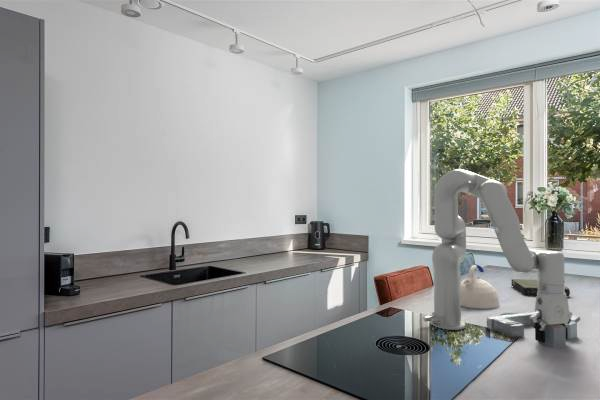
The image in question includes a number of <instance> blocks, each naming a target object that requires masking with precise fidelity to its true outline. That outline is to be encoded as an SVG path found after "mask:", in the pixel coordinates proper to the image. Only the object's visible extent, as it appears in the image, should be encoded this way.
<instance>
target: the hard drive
mask: <svg viewBox="0 0 600 400" xmlns="http://www.w3.org/2000/svg"><path fill="white" fill-rule="evenodd" d="M580 319H581V317H580V316H579V315H574V314H572V317H571V321H572V322H577V320H578V321H579V320H580Z"/></svg>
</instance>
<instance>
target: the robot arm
mask: <svg viewBox="0 0 600 400" xmlns="http://www.w3.org/2000/svg"><path fill="white" fill-rule="evenodd" d="M459 193H464V194H467V195H470V196H473V197H474V198H477V199H479V200H480V202H481V203H482V206H483V208H484V210H485V212H486V214H487V216H488V218H489V221H490V222H491V224H492V227H493V230H494V233H495V235H496V238H497V240H498V243H499V246H500V247H501V250H502V252H503V253H502V254H504V257H505V259H506V261H507V262H508V265H509V266H510V267H511V268H512V270H514V271H515V272H517V273H519V274H528V273H530V272H532V271H534V270H535V271H536V270H537V280H538V287H537V289H538V292H537V296H535V306H534V307H535V308H534V312H535V313H534V314H532V315H531V316H530V317H529V318H530V321H531V324H532V325H531V326H533V329H534V332H535V333H534V335H535V336H534V339H535V341H536V342H538V341H539V342H538V343H540V342H542V343H545V331H544V328H545V326H546V325H557V324H560V325H563V326H565V327H566V341H567V340H569V339H568V327H569V323H570V321H571V317H572V315H573V312H571V311H570V307H569V300H568V297H567V295H566V293H565V255H564V254H563V252H560V251H555V250H537V249H532V248H529V247H528V245H527V243H526V242H525V238H524V237H523V234H522V231H521V222H520V219H519V217H518V214H517V212H516V210H515V209H514V206H513V204H512V202H511V200H510V199H509V197H508V189H507V187H506V185H505V184H504V183H502V182H500V181H497V180H495V179H491V178H489V177H486V176H483V175H480V174H477V173H475V172H472V171H470V170H465V169H462V168H456V169H452V170H449V171H448V172H446V173H444V174H443V175H442V176H441V177H440V178H439V179H438V180H437V182H436V185H435V187H434V232H435V234H436V235H437V237H439V238H440V239H441V243H440V244H438V245H437V246H436V247H435V248H434V249H433V252H432V256H431V260H432V267H433V268H432V269H433V292H434V293H433V298H434V300H433V303H434V304H433V306H434V307H433V309H434V310H433V312H431V314H430V315H426V316H423V317H422V319H423V321H424V322H430V323H431V324H430V323H429V324H430V325H431V326H432V325H433V326H432V327H434V326H435V327H434V328H437V327H438V328H437V329H440V328H442V329H441V330H445V329H446V330H447V331H458V330H463V329H465V328H466V323H465V322H464V321H462V319H461V317H462V312H461V311H462V306H461V285H460V282H461V272H460V271H461V270H460V264H461V263H462V262H463V261H464V260H465V259H466V256H467V230H466V229H467V228H466V227H467V226H466V223H465V220H464V219H463V218H462V217H461V216H459V201H458V195H459ZM540 323H542V324H541V326H540V325H539V324H540ZM542 343H541V344H542Z"/></svg>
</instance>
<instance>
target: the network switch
mask: <svg viewBox="0 0 600 400" xmlns="http://www.w3.org/2000/svg"><path fill="white" fill-rule="evenodd" d="M512 286H513V287H514V288H513V287H512ZM511 287H512V288H513V289H515V288H516V289H515V290H517V291H518V292H519V293H520V292H521V294H522V293H523V294H524V295H523V294H522V295H523V296H530V295H537V292H538V289H537V287H538V279H523V278H522V279H519V278H518V279H517V278H512V279H511ZM565 293H566V295H567V296H568V297H570V294H571V293H570V288H569V287H568V286H565Z"/></svg>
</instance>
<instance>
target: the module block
mask: <svg viewBox="0 0 600 400" xmlns="http://www.w3.org/2000/svg"><path fill="white" fill-rule="evenodd" d="M541 324H542V323H540V324H539V325H540V326H541ZM544 331H545V343H542V342H539V341H537V343H540V344H543V345H545V346H547V347H550V348H553V349H557V348H558V349H559V348H564V347H565V348H566V346H567V343H566V341H567V340H566V327H565V326H563V325H560V324H557V325H546V326H545V328H544Z"/></svg>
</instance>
